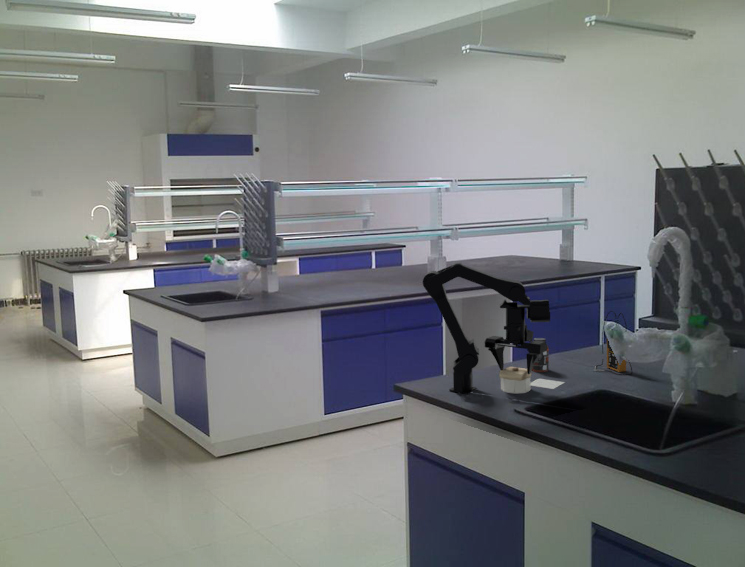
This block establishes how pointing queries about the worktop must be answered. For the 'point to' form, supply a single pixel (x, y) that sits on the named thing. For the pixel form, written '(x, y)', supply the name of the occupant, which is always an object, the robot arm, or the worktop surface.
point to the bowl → (515, 385)
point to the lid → (514, 373)
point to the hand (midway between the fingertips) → (515, 372)
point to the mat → (546, 383)
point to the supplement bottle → (541, 359)
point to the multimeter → (613, 356)
